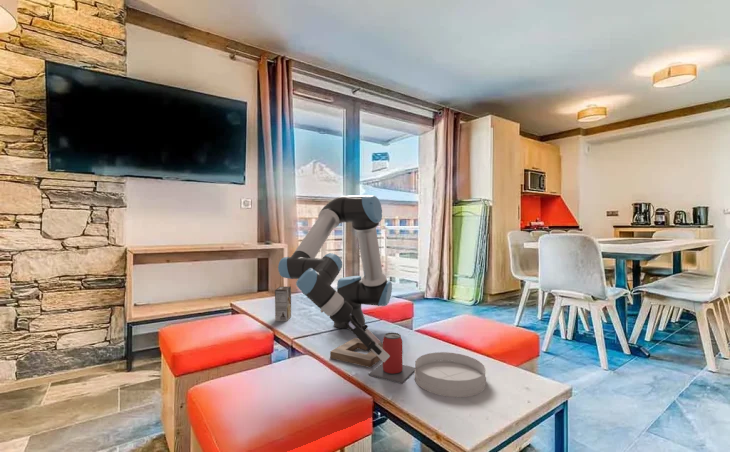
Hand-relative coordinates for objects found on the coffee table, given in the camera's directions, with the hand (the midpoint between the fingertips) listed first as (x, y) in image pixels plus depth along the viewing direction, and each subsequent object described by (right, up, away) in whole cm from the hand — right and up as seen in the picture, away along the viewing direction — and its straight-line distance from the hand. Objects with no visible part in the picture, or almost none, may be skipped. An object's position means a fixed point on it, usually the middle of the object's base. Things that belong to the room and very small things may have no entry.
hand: (382, 351), depth 118 cm
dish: (+21, -8, -5) cm, 23 cm away
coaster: (+4, -7, +1) cm, 8 cm away
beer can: (+4, -7, +1) cm, 8 cm away
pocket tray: (-7, -7, +17) cm, 19 cm away
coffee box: (-48, -7, +65) cm, 81 cm away
